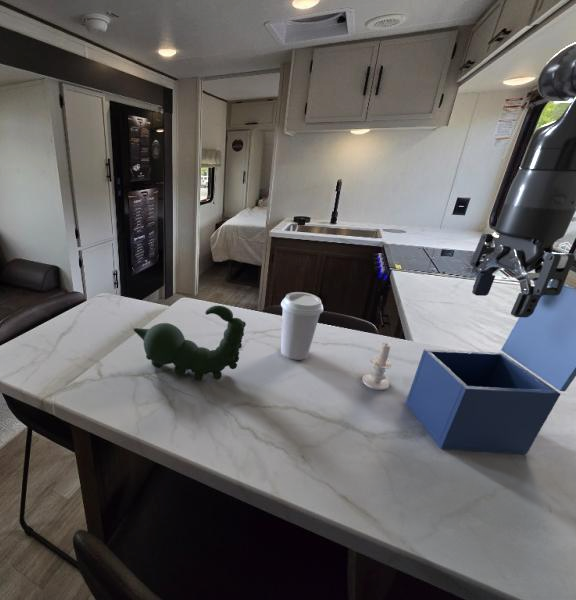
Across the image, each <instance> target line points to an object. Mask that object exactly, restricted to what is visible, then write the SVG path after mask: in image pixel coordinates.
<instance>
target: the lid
mask: <svg viewBox="0 0 576 600" xmlns="http://www.w3.org/2000/svg"><path fill="white" fill-rule="evenodd" d="M552 280H553V279H551V280H550V281H549V283H548V285H547V287H550V285H551V283H552ZM500 352H502V353H503V354H505V355H506V356H508V357H509V358H510V359H512V360H513V361H515V362H516V363H519V365H521V366H522V367H523V368H525V369H526V370H528V371H529V372H531V373H532V374H534V375H535V376H537V377H539V379H541V380H542V381H544V382H545V383H547V384H548V385H551V387H552V388H553V387H554V389H555V390H558V392H566V391H567V390H568V388H569V386H570V385H571V384H572V382H573V381H574V380H575V378H576V287H572V286H570V285H567V284H565V283H564V285H563V287H562V290H561V292H560V294H559V295H557V296H550V295H543V296H542V297H541V298H540V299H539V302H538V304H537V306H536V308H535V309H534V312H533V314H532V315H530V316H529V317H518V319H517V320H516V322H515V324H514V326H513V328H512V329H511V331H510V332H509V335H508V337H507V338H506V340H505V342H504V344H503V345H502V347H501V349H500Z"/></svg>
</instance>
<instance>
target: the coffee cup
mask: <svg viewBox="0 0 576 600" xmlns="http://www.w3.org/2000/svg"><path fill="white" fill-rule="evenodd" d="M280 307H281V308H282V316H281V317H282V318H281V339H280V341H281V342H280V352H281V354H282V355H283V356H284V357H285V358H288V359H290V360H295V361H301V360H305V359H307V358H308V356H309V352H310V350H311V345H312V342H313V339H314V336H315V332H316V329H317V326H318V323H319V318H320V315H321V314H322V313H323V312H324V305H323V303H322V300H321V298H320V297H318V296H317V295H315V294H312V293H309V292H302V291H295V292H289V293H287V294H286V295H285V297H284V298H282V300H281V302H280Z"/></svg>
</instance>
